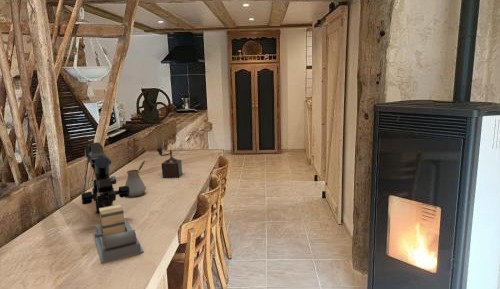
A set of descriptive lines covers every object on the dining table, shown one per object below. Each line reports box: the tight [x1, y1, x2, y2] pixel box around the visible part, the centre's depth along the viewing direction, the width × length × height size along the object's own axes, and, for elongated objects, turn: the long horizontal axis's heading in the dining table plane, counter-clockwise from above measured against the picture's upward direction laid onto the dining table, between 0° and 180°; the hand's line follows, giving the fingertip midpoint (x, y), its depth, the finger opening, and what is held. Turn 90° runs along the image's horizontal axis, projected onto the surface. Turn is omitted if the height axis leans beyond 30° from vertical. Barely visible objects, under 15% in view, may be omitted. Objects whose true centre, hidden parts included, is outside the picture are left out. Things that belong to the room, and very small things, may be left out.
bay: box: [92, 217, 144, 264], centre depth 133 cm, size 29×15×10 cm, turn 29°
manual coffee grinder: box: [156, 146, 183, 179], centre depth 221 cm, size 16×11×18 cm
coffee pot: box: [124, 160, 148, 198], centre depth 193 cm, size 21×12×15 cm, turn 173°
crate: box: [98, 203, 125, 236], centre depth 140 cm, size 7×8×10 cm
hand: (109, 212), depth 146 cm, fingers closed
